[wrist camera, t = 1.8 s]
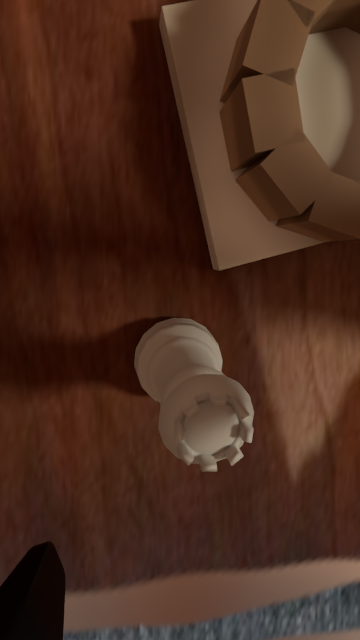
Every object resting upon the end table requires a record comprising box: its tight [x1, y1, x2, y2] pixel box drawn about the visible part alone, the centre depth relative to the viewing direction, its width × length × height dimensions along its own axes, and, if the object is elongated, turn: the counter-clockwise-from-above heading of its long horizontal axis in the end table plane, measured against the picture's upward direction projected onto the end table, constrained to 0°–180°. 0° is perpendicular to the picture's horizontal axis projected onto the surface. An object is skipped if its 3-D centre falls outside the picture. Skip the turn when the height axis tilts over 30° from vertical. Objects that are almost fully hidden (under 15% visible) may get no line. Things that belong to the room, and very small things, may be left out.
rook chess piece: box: [134, 318, 254, 471], centre depth 14 cm, size 4×4×8 cm
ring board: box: [159, 0, 360, 271], centre depth 15 cm, size 14×11×4 cm
